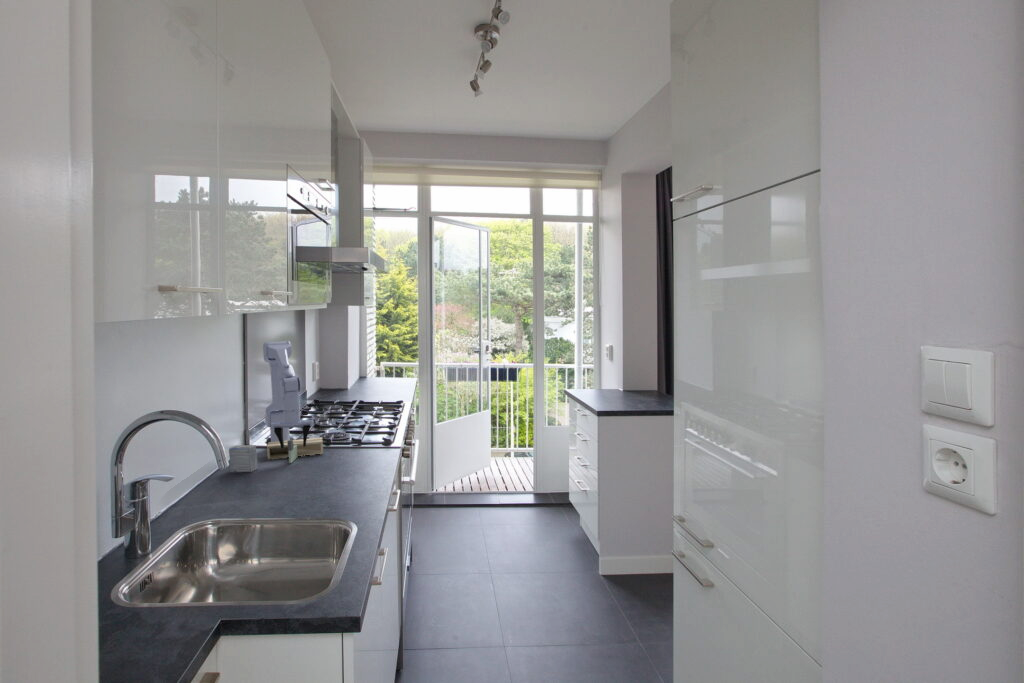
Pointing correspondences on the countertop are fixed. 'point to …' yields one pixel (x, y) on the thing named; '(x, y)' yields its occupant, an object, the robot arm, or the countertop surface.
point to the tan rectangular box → (311, 448)
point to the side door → (292, 451)
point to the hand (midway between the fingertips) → (293, 446)
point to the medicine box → (243, 458)
